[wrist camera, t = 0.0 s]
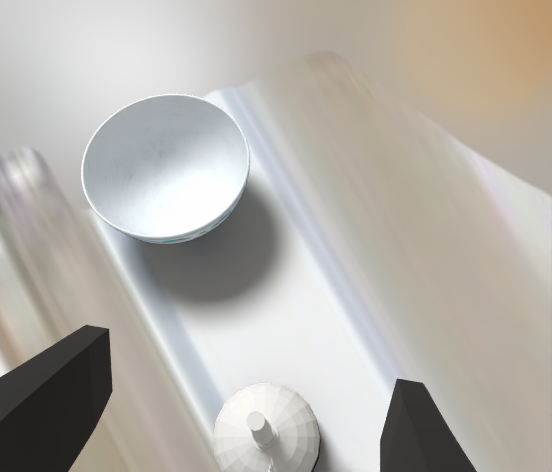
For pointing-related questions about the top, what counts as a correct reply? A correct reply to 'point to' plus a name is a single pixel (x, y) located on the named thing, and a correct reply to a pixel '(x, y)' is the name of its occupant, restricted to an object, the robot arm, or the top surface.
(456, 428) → the top surface
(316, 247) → the top surface
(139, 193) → the chinaware
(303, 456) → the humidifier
